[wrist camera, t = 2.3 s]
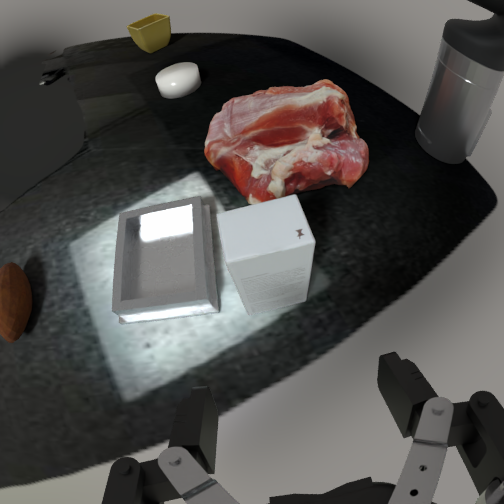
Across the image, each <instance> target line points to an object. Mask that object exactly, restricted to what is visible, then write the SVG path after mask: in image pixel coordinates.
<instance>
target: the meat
mask: <svg viewBox="0 0 504 504" xmlns="http://www.w3.org/2000/svg"><path fill="white" fill-rule="evenodd" d="M348 100H349V99H348V96H347V94H346V93H345V91H343V90H342V89H341V88H339V87H338V86H337V85H335V84H333V83H332V82H331V81H329V80H326V79H325V80H320V81H318V82H316V83H315V84H313V85H311V86H306V87H286V86H285V87H275V86H274V88H273V87H271V88H269V90H267V91H266V90H263V91H262V90H259V91H256V92H255V93H254V94H251V95H247V96H241V97H238V98H232V99H231V100H230V101H228V102H227V103H225V104H224V105H223V107H222V111H221V112H219V113H216V114H215V116H214V117H213V119H212V121H211V123H210V126H209V131H208V132H209V133H208V135H207V138H206V142H205V150H204V152H205V155H206V157H207V159H208V161H209V162H210V163H211V164H212V165H213V167H214V168H215V169H216V170H219V169H220V170H221V171H222V172H223V174H224V175H225V176H226V177H227V178H228V179H229V180H230V181H231V183H232V184H233V185H234V186H235V187H236V188H237V190H238V191H239V192H240V193H241V194H242V195H243V196H244V197H245V199H246V200H247V201H248V203H250V204H253V205H254V204H258V203H261V202H266V201H270V200H274V199H278V198H282V197H286V196H290V195H293V194H296V193H300V192H304V191H309V190H314V189H320V188H322V187H324V186H327V185H331V184H338V185H347V186H348V188H350V187H351V186H352V185H353V184H354V183H355V182H356V181H357V180H358V179H359V178H360V177H361V176H362V175H363V173H364V172H365V171H366V169H367V167H368V163H369V158H368V147H367V144H366V143H365V141H364V140H362V139H359V136H358V135H357V132H356V128H357V127H356V124H355V120H354V115H353V113H352V111H351V108H350V105H349V101H348Z"/></svg>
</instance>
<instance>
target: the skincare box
mask: <svg viewBox="0 0 504 504" xmlns="http://www.w3.org/2000/svg"><path fill="white" fill-rule="evenodd" d="M217 222H218V228H219V234H220V239H221V245H222V250H223V256H224V261H225V264H226V266H227V268H228V270H229V273H230V275H231V277H232V279H233V282H234V284H235V286H236V288H237V291H238V293H239V295H240V298H241V300H242V302H243V305H244V307H245V309H246V312H247V314H248V315H254V314H258V313H262V312H266V311H270V310H274V309H278V308H282V307H286V306H289V305H293V304H297V303H301V302H305V301H306V299H307V293H308V287H309V281H310V275H311V268H312V262H313V254H314V248H315V239H314V236H313V234H312V231H311V229H310V226H309V224H308V221H307V219H306V217H305V214H304V212H303V209H302V207H301V204H300V202H299V200H298V197H297V195H295V194H294V195H290V196H286V197H282V198H278V199H274V200H270V201H266V202H261V203H258V204H254V205H250V206H246V207H242V208H238V209H234V210H230V211H226V212H222V213H218V214H217Z"/></svg>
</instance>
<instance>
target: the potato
mask: <svg viewBox="0 0 504 504" xmlns="http://www.w3.org/2000/svg"><path fill="white" fill-rule="evenodd" d="M31 311H32V292H31V287H30V283H29V280H28V278H27V276H26V275H25V273H24V272H23V270H22V269H21V268H20V267H19V266H18V265H17V264H15V263H12V262H11V263H8V264H5V265H4V266H3V267H2V268H1V269H0V334H1V335H2V336H3V338H4V339H6V340H7V341H8V342H9V343H13V342H14V341H16V340H17V339H19V337H20V336H21V335H22V333H23V332H24V330H25V327H26V325H27V322H28V319H29V317H30V314H31Z"/></svg>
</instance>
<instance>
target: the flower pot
mask: <svg viewBox="0 0 504 504" xmlns="http://www.w3.org/2000/svg"><path fill="white" fill-rule="evenodd" d="M127 28H128V30H129V32H130V34H131V36H132V38H133V40H134V42H135V43H136V44H137V45H138V46H139V47H140V48H141V49H143V50H144V51H146V52H149V53H153V52H155V51H157V50H159V49H161V48H163V47H165V46H167V45H168V43H169V40H170V37H171V27H170V17H169V16H167V15H162V14H153V15H150V16H148V17H145V18H143V19H141V20H139V21H136V22H134V23H132V24H130V25H128V26H127Z"/></svg>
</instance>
